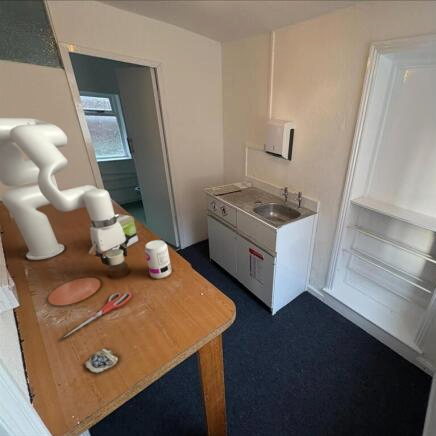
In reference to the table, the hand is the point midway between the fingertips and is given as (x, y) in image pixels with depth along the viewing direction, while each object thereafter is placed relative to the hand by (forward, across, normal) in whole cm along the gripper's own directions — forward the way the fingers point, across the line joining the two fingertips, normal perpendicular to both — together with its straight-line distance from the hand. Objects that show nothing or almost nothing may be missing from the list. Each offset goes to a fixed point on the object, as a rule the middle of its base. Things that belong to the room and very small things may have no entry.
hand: (115, 259), depth 97 cm
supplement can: (+8, -8, +15) cm, 19 cm away
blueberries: (+8, +27, +33) cm, 43 cm away
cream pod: (+1, 0, 0) cm, 1 cm away
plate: (+7, +14, -4) cm, 16 cm away
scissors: (+8, +17, +16) cm, 25 cm away
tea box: (+8, -14, -21) cm, 27 cm away
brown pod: (+7, 0, 0) cm, 7 cm away
